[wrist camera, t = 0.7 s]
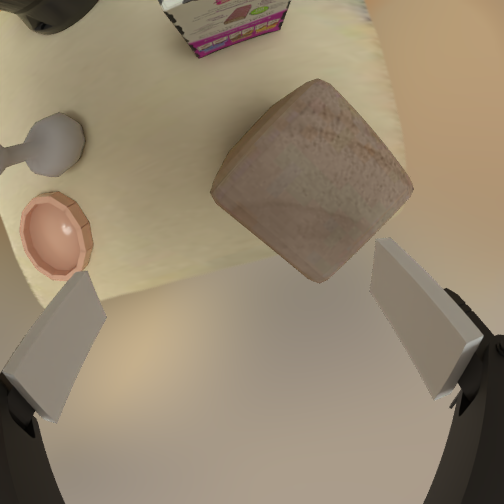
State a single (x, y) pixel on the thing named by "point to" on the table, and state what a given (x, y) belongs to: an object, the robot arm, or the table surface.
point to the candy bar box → (223, 21)
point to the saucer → (56, 235)
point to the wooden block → (312, 180)
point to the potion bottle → (47, 146)
